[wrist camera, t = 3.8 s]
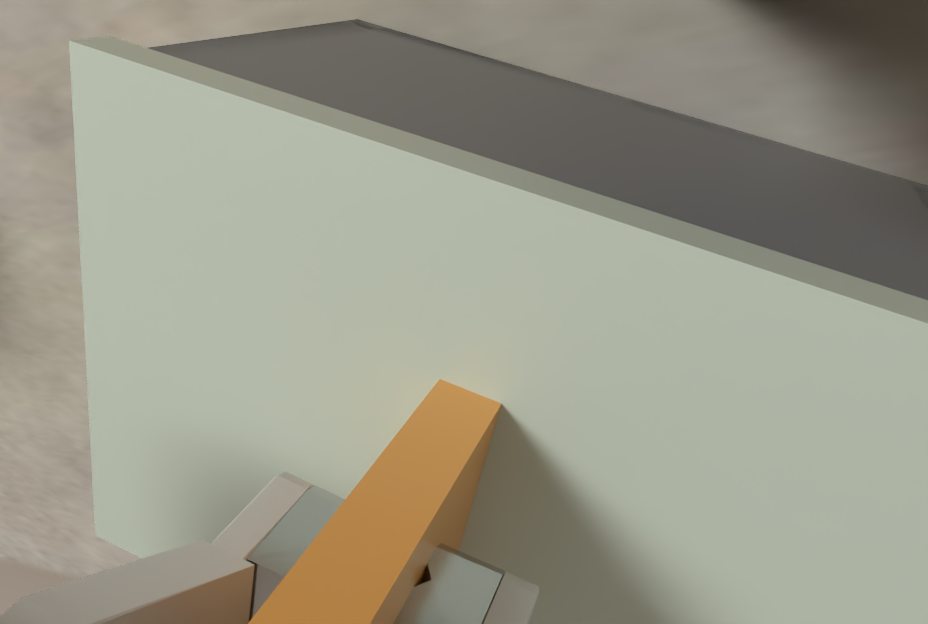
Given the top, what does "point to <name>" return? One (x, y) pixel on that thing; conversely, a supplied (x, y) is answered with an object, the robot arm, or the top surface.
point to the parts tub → (598, 143)
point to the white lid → (478, 371)
